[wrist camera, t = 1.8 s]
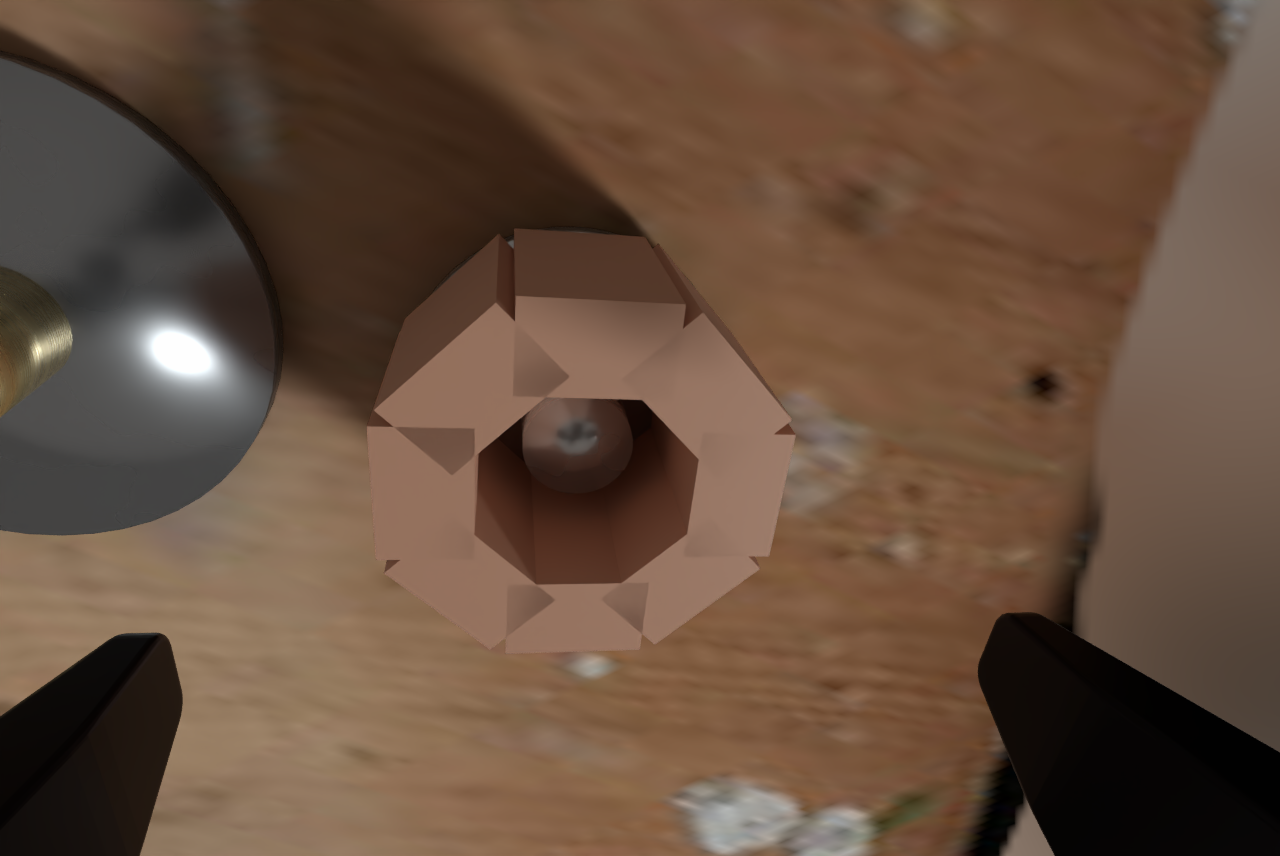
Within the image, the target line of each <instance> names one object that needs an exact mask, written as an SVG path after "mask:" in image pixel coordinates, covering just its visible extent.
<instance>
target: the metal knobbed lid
mask: <svg viewBox="0 0 1280 856" xmlns="http://www.w3.org/2000/svg"><path fill="white" fill-rule="evenodd" d="M536 230H548V231H563V232H579V233H594V234H609V235H618V234H615V233H611V232H607V231H603V230H598V229H591V228H583V227H551V228H543V229H536ZM504 239H505V240H506V241H507V242H508V244H509V245H510V246H511V247H512V248H513V249H514V235H512V236H509V237H507V238H504ZM478 252H479V251H478ZM478 252H476V253H474V254H473V255H471V256H470V257H468V258H467V259H466V260H464V261H463V262H462V263H461V264H459V265H458V266H457V267H456V268H454V269H453V270H452V271H451V272H450V273H449V274H448V275H447V276H446V277H445V278H444V279H443V280H442V281H441V282H440V283H439V285H438V286H437V287H436V288H435V290H434V291H433V293H434V292H435V291H436V290H437V289H438V288H439V287H440V286H441V285H443V284H444V283H445V282H446V281H447V280H448V279H449V278H450V277H451V276H452V275H454V274H455V273H456V272H457V271H458V270H459V269H460V268H461V267H462V266H464V265H465V264H466V263H467V262H468V261H469V260H470V259H471V258H472V257H474V256H475V255H476V254H477V253H478ZM685 277H686V276H685ZM686 278H687V277H686ZM689 282H690V281H689ZM690 283H691V282H690ZM691 284H692V283H691ZM692 285H693V284H692ZM694 288H695V287H694ZM695 289H696V288H695ZM433 293H432V294H433ZM652 413H653V411H652V410H651V409H650V408H649V407H648V405H647V404H646V403H645V402H644V401H643V400H628V399H591V398H555V397H545V398H544V399H543V400H542V401H541V402H539V403H538V404H537V405H536V406H535V407H533V408H532V409H531V410H530V411H529V412H527V413H526V414H525V415H524V416H523V417H521V418H520V419H519V420H518V421H517V422H515V423H514V424H513V425H512V426H511V427H509V428H508V429H507V430H506V431H505V432H503V433H502V434H501V435H500V436H499V437H497V438H498V439H499V440H500V441H501V442H502V443H503V444H505V445H506V446H507V447H508V448H509V449H510V450H511V451H512V452H513V453H515V454H516V455H517V456H518V457H519V458H520V459H521V460H522V461H524V462H525V463H526V465H527V467H528V469H529V471H530V472H531V473H532V475H533V476H534V477H535V478H536V479H537V480H538V481H539V482H541V483H542V484H543V485H545V486H547V487H549V488H551V489H553V490H556V491H559V492H564V493H572V494H579V493H587V492H591V491H595V490H598V489H600V488H603V487H604V486H606V485H608V484H610V483H611V482H612V481H614V480H615V479H616V478H617V477H618V476H619V475H620V474H621V473H622V472H623V471H624V469H625V468H626V466H627V464H628V462H629V460H630V458H631V455H632V450H633V441H634V440H636V439H637V438H638V437H639V436H641V435H642V434H643V433H644V432H646V431H647V430H648V429H650V428H651V421H652Z"/></svg>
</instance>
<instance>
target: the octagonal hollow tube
mask: <svg viewBox="0 0 1280 856" xmlns="http://www.w3.org/2000/svg"><path fill="white" fill-rule="evenodd" d="M545 397H555V398H591V399H628V400H643V401H644V402H645V403H646V404H647V405H648V407H649V408H650V409H651V410H652V411H653V413H652V421H651V428H650V429H648V430H647V431H646V432H644V433H643V434H642V435H641V436H639V437H638V438H637V439H636V440H634V441H633V450H632V455H631V458H630V460H629V462H628V464H627V466H626V468H625V469H624V471H623V472H622V473H621V474H620V475H619V476H618V477H617V478H616V479H615V480H614V481H612V482H611V483H610V484H608V485H606V486H604V487H603V488H600V489H598V490H595V491H591V492H587V493H579V494H572V493H564V492H559V491H556V490H553V489H551V488H549V487H547V486H545V485H543V484H542V483H541V482H539V481H538V480H537V479H536V478H535V477H534V476H533V475H532V473H531V472H530V471H529V469H528V467H527V465H526V463H525V462H524V461H522V460H521V459H520V458H519V457H518V456H517V455H516V454H515V453H513V452H512V451H511V450H510V449H509V448H508V447H507V446H506V445H505V444H503V443H502V442H501V441H500V440H499V439H498V438H497V437H499V436H500V435H501V434H502V433H503V432H505V431H506V430H507V429H508V428H509V427H511V426H512V425H513V424H514V423H515V422H517V421H518V420H519V419H520V418H521V417H523V416H524V415H525V414H526V413H527V412H529V411H530V410H531V409H532V408H533V407H535V406H536V405H537V404H538V403H539V402H541V401H542V400H543V399H544V398H545ZM790 421H792V419H791V417H790V416H789V414H788V413H787V412H786V410H785V409H784V407H783V406H782V404H781V403H780V402H779V400H778V399H777V397H776V396H775V394H774V393H773V391H772V390H771V389H770V387H769V386H768V384H767V383H766V381H765V380H764V379H763V377H762V376H761V374H760V373H759V371H758V370H757V368H756V367H755V366H754V364H753V363H752V361H751V360H750V358H749V357H748V356H747V354H746V353H745V351H744V350H743V348H742V347H741V346H740V344H739V343H738V341H737V340H736V338H735V337H734V335H733V334H732V333H731V331H730V330H729V329H728V328H727V327H726V325H725V324H724V323H723V322H722V320H721V319H720V318H719V317H718V316H717V314H716V313H715V312H714V311H713V310H712V308H711V307H710V306H709V305H708V303H707V302H706V301H705V300H704V299H703V297H702V296H701V295H700V294H699V292H698V291H697V290H696V289H695V288H694V286H693V285H692V284H691V283H690V282H689V280H688V279H687V278H686V277H685V275H684V274H683V273H682V272H681V271H680V269H679V268H678V267H677V266H676V265H675V263H674V262H673V261H672V260H671V258H670V257H669V256H668V255H667V254H666V252H665V251H664V250H663V249H662V247H661V246H660V245H659V244H657V245H656V246H655V247H654V248H653V249H652V248H651V246H650V244H649V243H648V241H647V239H646V238H645V237H640V236H624V235H609V234H594V233H579V232H563V231H548V230H533V229H518V228H514V249H513V248H512V247H511V246H510V245H509V244H508V242H507V241H506V240H505V239H504V238H503V237H502V236H501V235H500V234H498V235H497V236H496V237H495V238H493V239H492V240H491V241H490V242H489V243H488V244H487V245H486V246H485V247H483V248H482V249H481V250H480V251H479V252H478V253H477V254H476V255H475V256H474V257H472V258H471V259H470V260H469V261H468V262H467V263H466V264H465V265H464V266H462V267H461V268H460V269H459V270H458V271H457V272H456V273H455V274H454V275H452V276H451V277H450V278H449V279H448V280H447V281H446V282H445V283H444V284H443V285H441V286H440V287H439V288H438V289H437V290H436V291H435V292H434V293H433V294H431V295H430V296H429V297H428V298H427V299H426V300H425V301H424V302H423V303H421V304H420V305H419V306H418V307H417V308H416V309H415V310H414V311H413V312H411V313H410V314H409V315H408V316H407V317H406V318H405V320H404V323H403V326H402V328H401V331H400V332H399V334H398V337H397V340H396V343H395V346H394V349H393V351H392V354H391V357H390V360H389V363H388V366H387V369H386V372H385V375H384V378H383V381H382V383H381V386H380V389H379V392H378V395H377V398H376V401H375V404H374V407H373V410H372V412H371V415H370V418H369V421H368V424H367V438H368V453H369V467H370V482H371V496H372V511H373V525H374V540H375V554H376V560H387V562H386V567H385V571H384V574H386V575H387V576H388V577H390V578H391V579H393V580H394V581H395V582H397V583H398V584H400V585H401V586H402V587H404V588H405V589H407V590H408V591H409V592H411V593H412V594H414V595H415V596H416V597H418V598H419V599H421V600H422V601H423V602H425V603H426V604H428V605H429V606H430V607H432V608H433V609H434V610H436V611H437V612H439V613H440V614H441V615H443V616H444V617H446V618H447V619H448V620H450V621H451V622H453V623H454V624H455V625H457V626H458V627H460V628H461V629H462V630H464V631H465V632H467V633H468V634H469V635H471V636H472V637H474V638H475V639H476V640H478V641H479V642H481V643H482V644H483V645H485V646H486V647H487V648H489V649H492V648H493V647H494V646H496V645H497V644H498V643H500V642H501V641H502V640H503V639H505V638H506V654H514V653H546V652H578V651H610V650H640V644H641V637H642V634H643V635H644V636H645V637H646V638H648V639H649V640H650V641H651V642H652V643H654V644H656V643H658V642H659V641H660V640H662V639H663V638H665V637H666V636H667V635H669V634H670V633H672V632H673V631H674V630H676V629H677V628H679V627H680V626H681V625H683V624H684V623H685V622H687V621H688V620H690V619H691V618H692V617H694V616H695V615H697V614H698V613H699V612H701V611H702V610H704V609H705V608H706V607H708V606H709V605H710V604H712V603H713V602H715V601H716V600H717V599H719V598H720V597H722V596H723V595H724V594H726V593H727V592H729V591H730V590H731V589H733V588H734V587H735V586H737V585H738V584H740V583H741V582H742V581H744V580H745V579H747V578H748V577H749V576H751V575H752V574H754V573H755V572H756V571H758V570H759V569H760V567H759V564H758V562H757V560H756V558H755V556H769V554H770V550H771V545H772V541H773V536H774V532H775V527H776V523H777V518H778V513H779V509H780V504H781V500H782V495H783V491H784V486H785V482H786V477H787V473H788V468H789V463H790V459H791V454H792V450H793V445H794V441H795V436H796V435H795V433H794V432H793V430H792V429H791V427H790V426H789V424H788V423H789V422H790Z"/></svg>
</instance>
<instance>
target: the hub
mask: <svg viewBox="0 0 1280 856" xmlns="http://www.w3.org/2000/svg"><path fill="white" fill-rule="evenodd" d="M282 358H283V335H282V321H281V316H280V311H279V305H278V300H277V295H276V292H275V289H274V286H273V283H272V280H271V277H270V274H269V271H268V268H267V265H266V263H265V261H264V259H263V257H262V255H261V252H260V250H259V248H258V246H257V244H256V242H255V240H254V238H253V236H252V234H251V232H250V231H249V229H248V228H247V226H246V225H245V223H244V221H243V220H242V218H241V217H240V215H239V214H238V212H237V210H236V209H235V207H234V206H233V204H232V203H231V202H230V200H229V199H228V198H227V197H226V195H225V194H224V193H223V192H222V190H221V189H220V188H219V187H218V186H217V184H216V183H215V182H214V181H213V179H212V178H211V177H210V176H209V174H208V173H207V172H206V171H205V170H204V169H203V168H202V167H201V166H200V165H199V164H198V163H197V162H196V161H195V160H194V159H193V158H192V157H191V156H190V155H189V154H188V153H187V152H186V151H185V150H184V149H183V148H182V147H181V146H180V145H178V144H177V143H176V142H175V141H173V140H172V139H171V138H170V137H168V136H167V135H166V134H165V133H164V132H162V131H161V130H160V129H159V128H157V127H156V126H155V125H154V124H152V123H151V122H150V121H149V120H148V119H146V118H145V117H143V116H141V115H140V114H138V113H137V112H135V111H134V110H132V109H131V108H129V107H128V106H126V105H125V104H123V103H122V102H120V101H119V100H117V99H116V98H114V97H113V96H111V95H109V94H107V93H105V92H103V91H101V90H99V89H97V88H96V87H94V86H92V85H90V84H88V83H86V82H84V81H82V80H80V79H78V78H76V77H74V76H72V75H70V74H68V73H65V72H63V71H60V70H57V69H55V68H52V67H50V66H47V65H45V64H42V63H40V62H37V61H35V60H32V59H29V58H26V57H22V56H18V55H15V54H11V53H7V52H4V51H0V530H3V531H11V532H18V533H25V534H42V535H78V534H94V533H101V532H107V531H113V530H120V529H125V528H129V527H132V526H136V525H140V524H143V523H147V522H151V521H153V520H156V519H158V518H161V517H163V516H166V515H168V514H170V513H173V512H175V511H178V510H179V509H181V508H183V507H185V506H186V505H188V504H190V503H192V502H193V501H195V500H197V499H199V498H200V497H202V496H203V495H204V494H206V493H207V492H208V491H210V490H211V489H212V488H213V487H215V486H216V485H217V484H219V483H220V482H221V481H222V480H223V479H224V478H225V477H226V476H227V475H228V474H229V473H230V472H231V471H232V470H233V469H234V467H235V466H236V465H237V464H238V463H239V462H240V461H241V459H242V458H243V456H244V455H245V453H246V452H247V450H248V449H249V447H250V446H251V444H252V443H253V442H254V440H255V438H256V436H257V435H258V433H259V431H260V430H261V428H262V426H263V424H264V422H265V420H266V418H267V416H268V414H269V412H270V409H271V407H272V405H273V403H274V399H275V396H276V392H277V388H278V385H279V381H280V377H281V367H282Z"/></svg>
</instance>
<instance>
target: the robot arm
mask: <svg viewBox="0 0 1280 856" xmlns="http://www.w3.org/2000/svg"><path fill="white" fill-rule="evenodd" d="M978 679H979V683H980V686H981V689H982V692H983V694H984V697H985V699H986V701H987V704H988V706H989V709H990V711H991V714H992V716H993V719H994V721H995V723H996V726H997V728H998V731H999V733H1000V736H1001V738H1002V741H1003V743H1004V746H1005V748H1006V750H1007V753H1008V755H1009V758H1010V760H1011V763H1012V765H1013V768H1014V770H1015V773H1016V775H1017V777H1018V780H1019V782H1020V785H1021V787H1022V790H1023V792H1024V794H1025V796H1026V799H1027V801H1028V803H1029V806H1030V808H1031V810H1032V812H1033V814H1034V816H1035V818H1036V820H1037V822H1038V824H1039V826H1040V828H1041V830H1042V832H1043V834H1044V836H1045V838H1046V840H1047V842H1048V844H1049V846H1050V848H1051V849H1052V851H1053V853H1054V855H1055V856H1280V752H1278V751H1276V750H1275V749H1273V748H1271V747H1269V746H1268V745H1266V744H1264V743H1263V742H1261V741H1259V740H1257V739H1256V738H1254V737H1252V736H1250V735H1249V734H1247V733H1245V732H1244V731H1242V730H1240V729H1238V728H1237V727H1235V726H1233V725H1231V724H1230V723H1228V722H1226V721H1224V720H1223V719H1221V718H1219V717H1218V716H1216V715H1214V714H1212V713H1211V712H1209V711H1207V710H1205V709H1204V708H1202V707H1200V706H1198V705H1197V704H1195V703H1193V702H1191V701H1190V700H1188V699H1186V698H1184V697H1183V696H1181V695H1179V694H1178V693H1176V692H1174V691H1172V690H1171V689H1169V688H1167V687H1165V686H1164V685H1162V684H1160V683H1158V682H1157V681H1155V680H1153V679H1152V678H1150V677H1148V676H1146V675H1145V674H1143V673H1141V672H1139V671H1138V670H1136V669H1134V668H1132V667H1131V666H1129V665H1127V664H1126V663H1124V662H1122V661H1120V660H1118V659H1117V658H1115V657H1113V656H1112V655H1110V654H1108V653H1106V652H1104V651H1103V650H1101V649H1099V648H1098V647H1096V646H1094V645H1092V644H1091V643H1089V642H1087V641H1086V640H1084V639H1082V638H1080V637H1079V636H1077V635H1075V634H1073V633H1072V632H1070V631H1068V630H1066V629H1065V628H1063V627H1061V626H1060V625H1058V624H1056V623H1054V622H1053V621H1051V620H1049V619H1047V618H1046V617H1044V616H1042V615H1040V614H1037V613H1032V612H1022V613H1005V614H1002V615H1001V616H1000V617H999V618H998V619H997V620H996V622H995V624H994V627H993V629H992V632H991V634H990V636H989V639H988V641H987V644H986V646H985V649H984V651H983V654H982V656H981V658H980V661H979V664H978ZM182 704H183V697H182V689H181V685H180V681H179V677H178V673H177V668H176V664H175V660H174V656H173V652H172V647H171V644H170V642H169V640H168V638H167V637H166V636H165V635H163V634H161V633H126V634H120V635H117V636H115V637H113V638H111V639H109V640H108V641H106V642H105V643H104V644H102V645H101V646H99V647H98V648H97V649H95V650H94V651H92V652H91V653H89V654H88V655H87V656H85V657H84V658H82V659H81V660H80V661H78V662H77V663H75V664H74V665H72V666H71V667H70V668H68V669H67V670H65V671H64V672H62V673H61V674H60V675H58V676H57V677H55V678H54V679H53V680H51V681H50V682H48V683H47V684H45V685H44V686H43V687H41V688H40V689H38V690H37V691H35V692H34V693H33V694H31V695H30V696H28V697H27V698H26V699H24V700H23V701H21V702H20V703H18V704H17V705H16V706H14V707H13V708H11V709H10V710H9V711H7V712H6V713H4V714H3V715H1V716H0V856H140V853H141V850H142V847H143V843H144V840H145V837H146V833H147V830H148V826H149V823H150V820H151V816H152V813H153V809H154V806H155V803H156V799H157V796H158V792H159V789H160V786H161V782H162V779H163V775H164V772H165V769H166V765H167V762H168V758H169V755H170V752H171V748H172V745H173V741H174V738H175V735H176V731H177V728H178V725H179V721H180V717H181V712H182Z"/></svg>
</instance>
